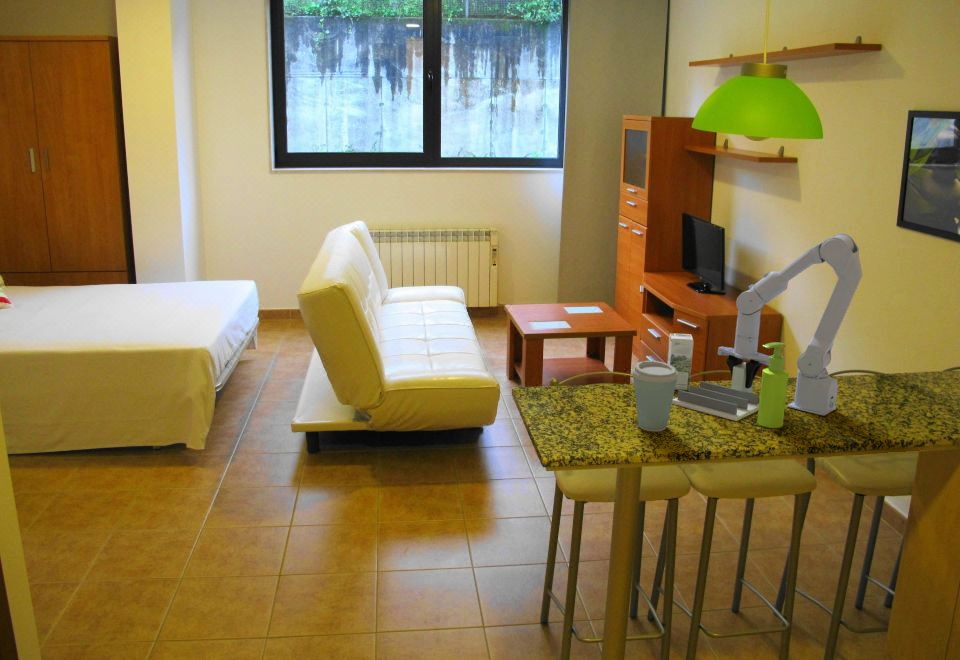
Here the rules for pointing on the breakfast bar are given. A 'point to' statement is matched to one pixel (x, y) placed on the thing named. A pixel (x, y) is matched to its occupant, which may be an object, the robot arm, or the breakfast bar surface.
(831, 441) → the breakfast bar surface
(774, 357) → the soap dispenser
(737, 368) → the white rectangular block
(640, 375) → the disposable coffee cup
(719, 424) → the breakfast bar surface
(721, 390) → the dish rack
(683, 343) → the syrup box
